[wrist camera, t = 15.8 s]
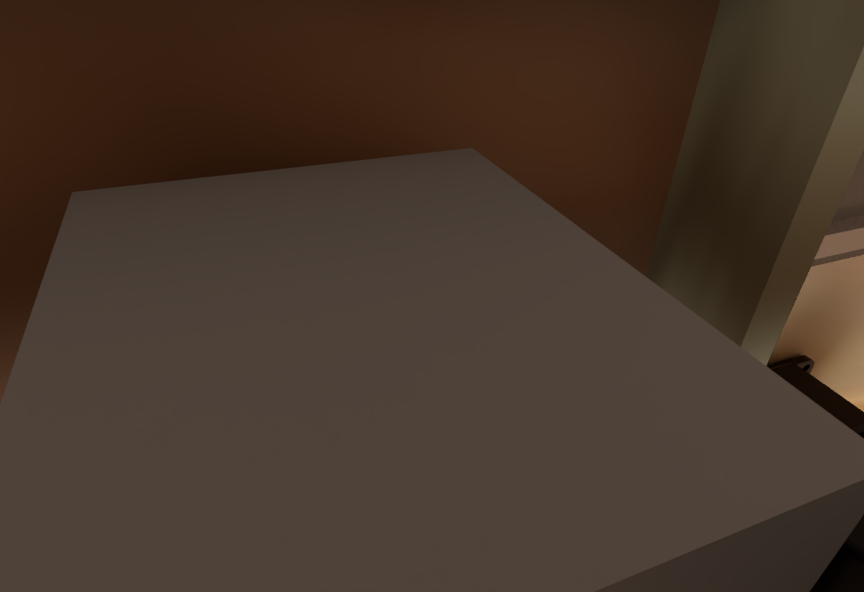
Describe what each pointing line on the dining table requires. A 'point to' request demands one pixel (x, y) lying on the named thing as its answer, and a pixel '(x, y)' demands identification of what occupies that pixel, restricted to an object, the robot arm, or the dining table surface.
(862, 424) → the robot arm
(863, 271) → the dining table surface
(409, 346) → the part block
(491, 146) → the cart
